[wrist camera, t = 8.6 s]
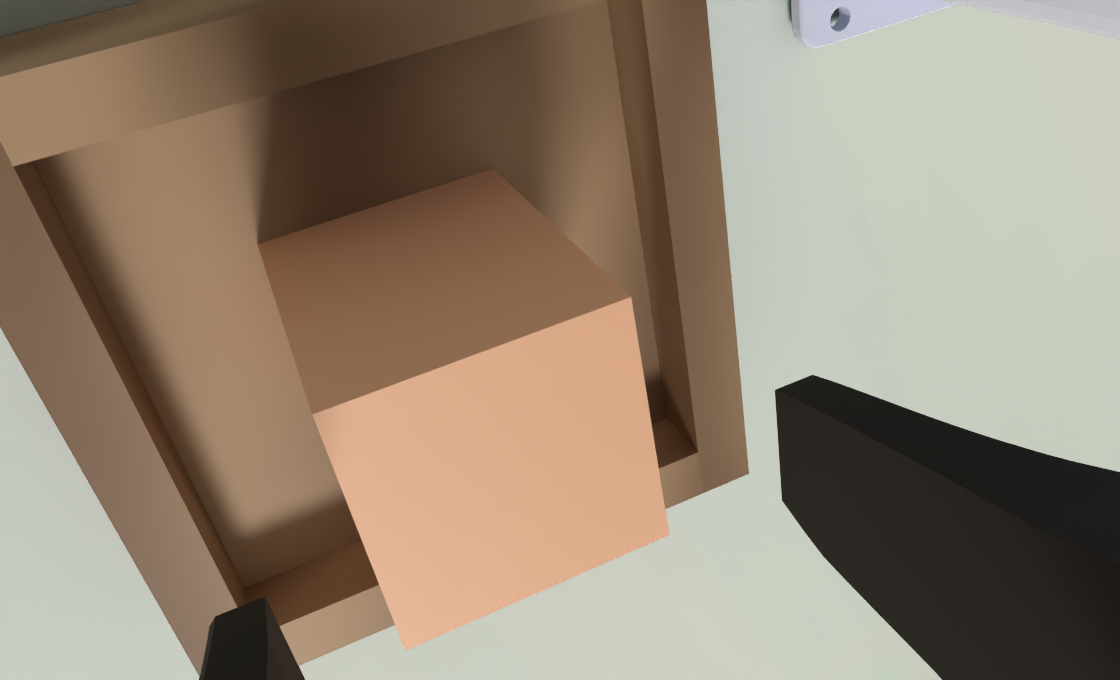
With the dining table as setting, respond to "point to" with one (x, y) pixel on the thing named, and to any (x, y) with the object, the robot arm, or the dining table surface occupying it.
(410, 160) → the wooden tray
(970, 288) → the dining table surface
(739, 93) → the dining table surface
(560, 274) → the terracotta block
